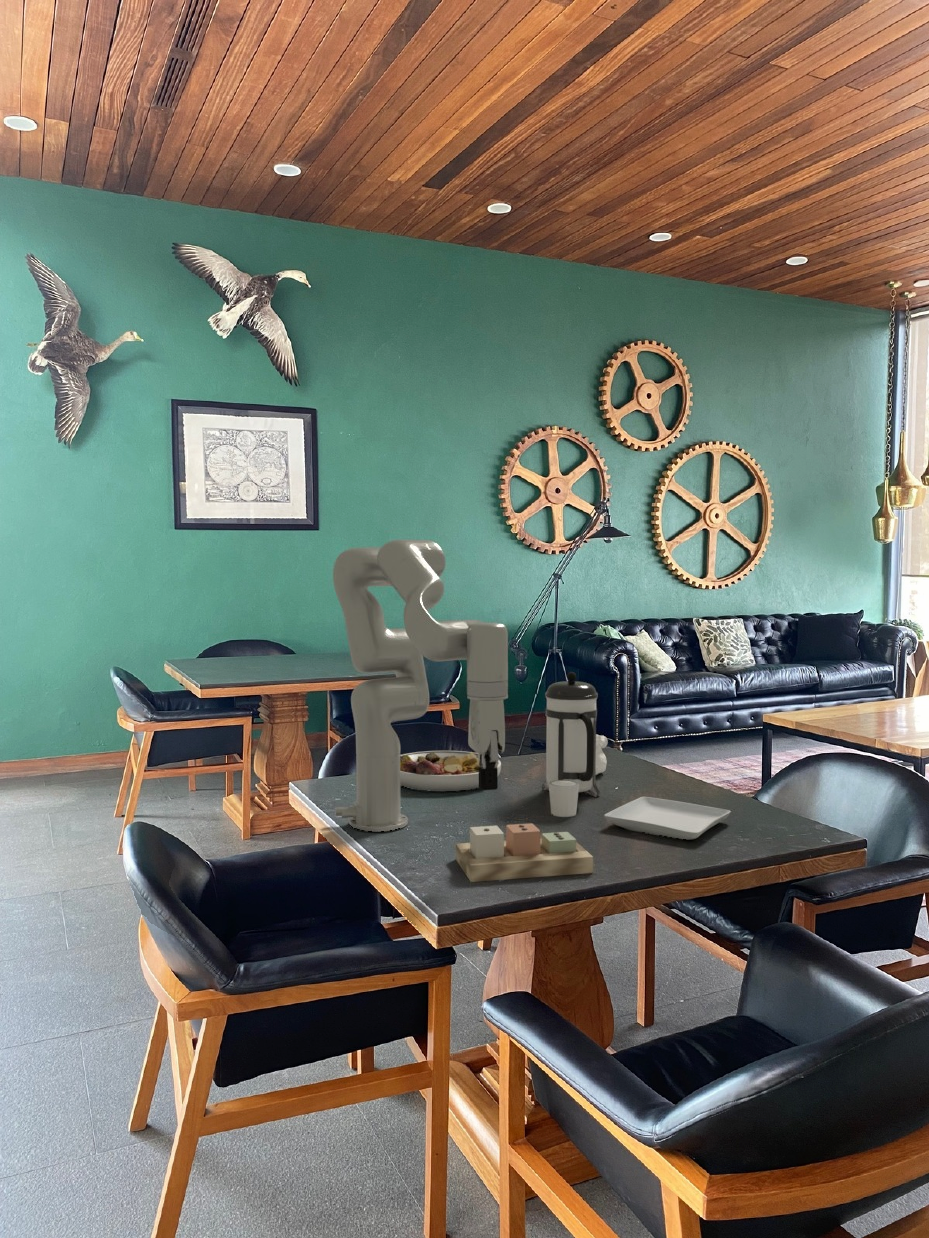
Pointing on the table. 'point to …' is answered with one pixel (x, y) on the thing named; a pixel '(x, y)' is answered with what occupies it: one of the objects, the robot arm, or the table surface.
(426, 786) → the bowl
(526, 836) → the tan dice block
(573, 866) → the wooden dice block tray
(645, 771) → the table surface
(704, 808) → the salad plate
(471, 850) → the white dice block
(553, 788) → the shot glass
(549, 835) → the green dice block
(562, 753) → the coffee press
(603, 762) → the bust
